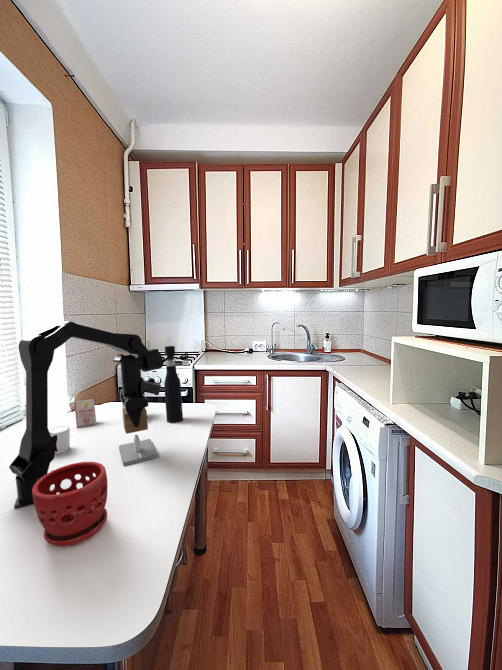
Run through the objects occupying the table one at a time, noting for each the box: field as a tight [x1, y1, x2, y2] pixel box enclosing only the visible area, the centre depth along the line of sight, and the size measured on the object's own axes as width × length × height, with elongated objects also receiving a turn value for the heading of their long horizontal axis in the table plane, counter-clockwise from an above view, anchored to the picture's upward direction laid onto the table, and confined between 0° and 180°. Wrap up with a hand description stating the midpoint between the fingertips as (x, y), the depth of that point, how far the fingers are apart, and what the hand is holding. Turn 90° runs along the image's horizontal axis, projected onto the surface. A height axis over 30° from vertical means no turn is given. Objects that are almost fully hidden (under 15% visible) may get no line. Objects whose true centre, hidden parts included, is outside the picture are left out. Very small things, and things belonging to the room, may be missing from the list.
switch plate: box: [118, 434, 159, 466], centre depth 104 cm, size 14×10×6 cm
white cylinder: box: [48, 425, 71, 455], centre depth 110 cm, size 7×7×7 cm
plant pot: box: [32, 461, 109, 548], centre depth 67 cm, size 13×13×12 cm
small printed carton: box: [74, 398, 97, 428], centre depth 134 cm, size 4×7×10 cm, turn 112°
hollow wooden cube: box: [121, 407, 149, 435], centre depth 104 cm, size 6×6×6 cm
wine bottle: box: [163, 345, 184, 424], centre depth 132 cm, size 6×6×30 cm
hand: (135, 423), depth 104 cm, fingers closed on hollow wooden cube, 6 cm apart
